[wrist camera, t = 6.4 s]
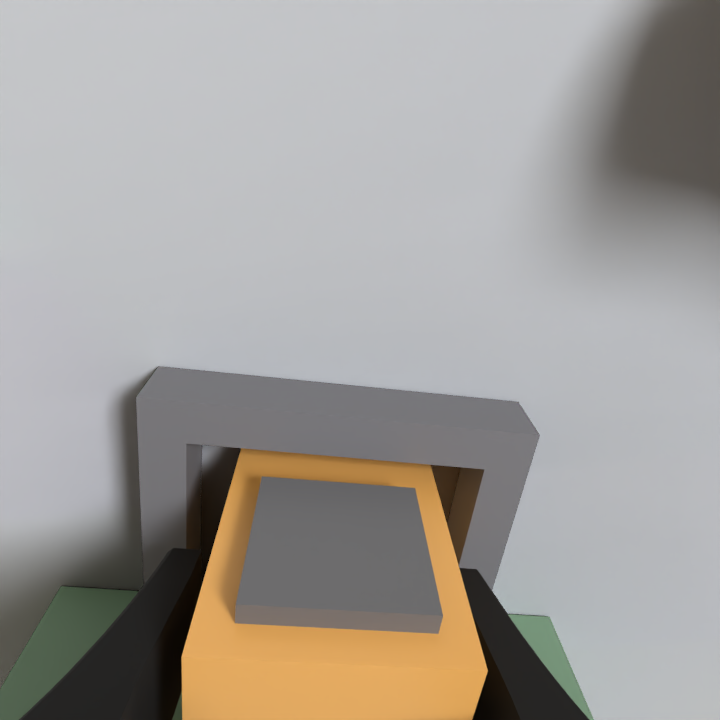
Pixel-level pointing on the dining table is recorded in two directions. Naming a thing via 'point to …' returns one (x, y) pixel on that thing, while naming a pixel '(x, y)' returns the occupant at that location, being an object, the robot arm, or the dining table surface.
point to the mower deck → (307, 436)
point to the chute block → (331, 598)
